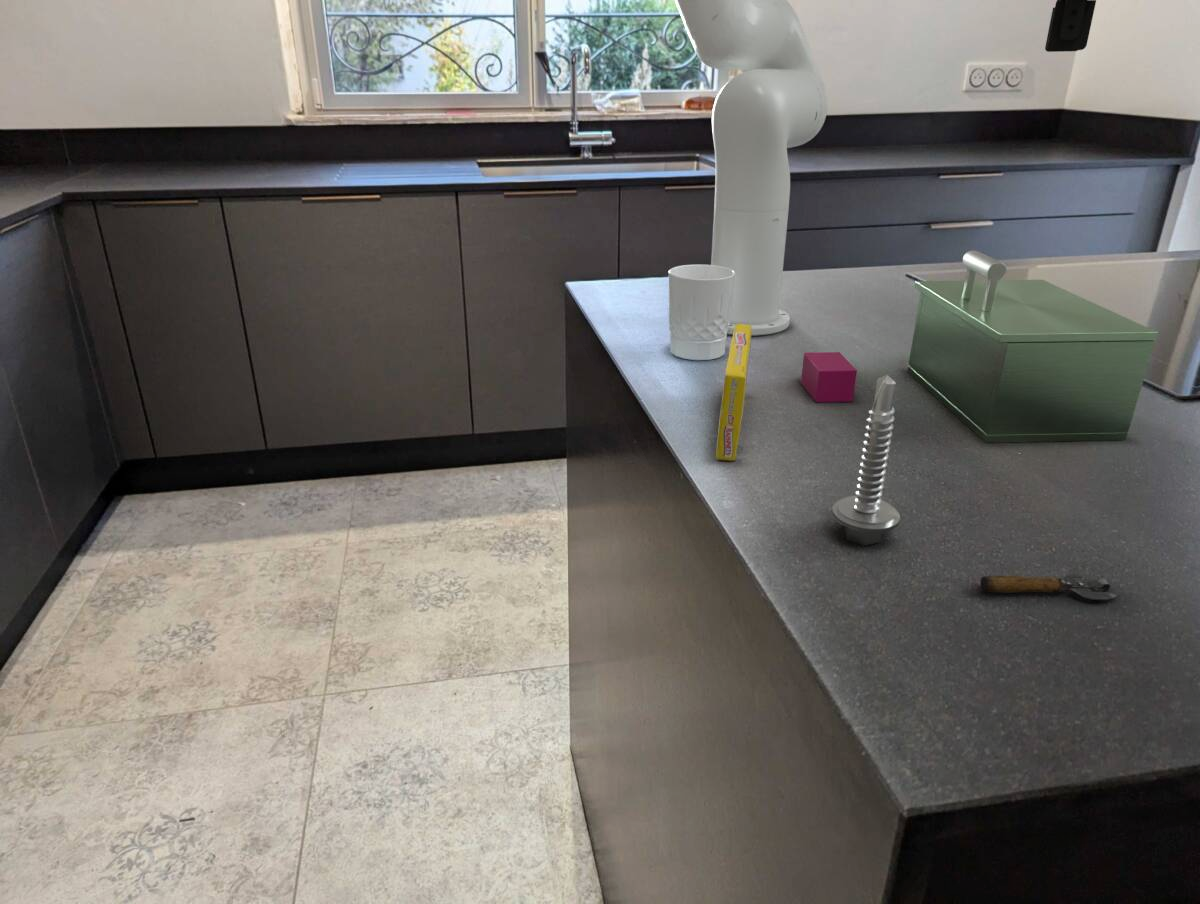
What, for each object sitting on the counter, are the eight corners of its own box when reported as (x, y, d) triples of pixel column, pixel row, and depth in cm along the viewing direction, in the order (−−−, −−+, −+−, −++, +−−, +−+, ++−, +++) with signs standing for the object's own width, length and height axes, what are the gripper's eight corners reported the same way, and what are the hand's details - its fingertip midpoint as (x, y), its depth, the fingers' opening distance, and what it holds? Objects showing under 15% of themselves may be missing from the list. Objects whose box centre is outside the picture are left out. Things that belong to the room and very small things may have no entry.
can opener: (983, 595, 55) (986, 581, 55) (973, 576, 57) (976, 561, 57) (1125, 605, 54) (1130, 591, 54) (1110, 585, 56) (1115, 571, 56)
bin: (985, 442, 78) (1007, 343, 73) (907, 371, 95) (921, 288, 91) (1125, 440, 78) (1155, 341, 74) (1021, 370, 96) (1041, 287, 92)
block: (815, 402, 87) (819, 371, 85) (800, 382, 92) (803, 352, 91) (852, 401, 87) (857, 370, 86) (835, 381, 92) (839, 351, 91)
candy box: (738, 463, 74) (746, 376, 70) (715, 461, 74) (720, 374, 71) (746, 397, 88) (752, 322, 84) (726, 396, 88) (731, 321, 85)
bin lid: (998, 343, 73) (1012, 280, 71) (914, 288, 91) (922, 236, 89) (1155, 340, 74) (1174, 278, 71) (1041, 286, 92) (1053, 235, 89)
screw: (880, 561, 59) (818, 538, 62) (905, 534, 63) (845, 514, 65) (909, 392, 54) (839, 376, 56) (935, 373, 57) (868, 358, 60)
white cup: (657, 358, 100) (660, 276, 95) (675, 339, 106) (678, 262, 102) (722, 365, 97) (727, 282, 93) (735, 346, 104) (741, 267, 100)
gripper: (1057, -140, 81) (1021, 52, 89) (1064, -183, 67) (1020, 50, 74) (1145, -149, 78) (1100, 51, 86) (1172, -195, 64) (1116, 48, 71)
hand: (1063, 50), depth 80 cm, fingers open, 9 cm apart
